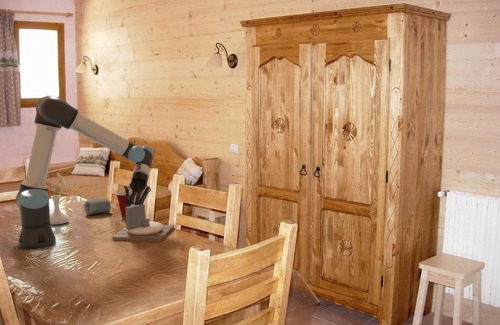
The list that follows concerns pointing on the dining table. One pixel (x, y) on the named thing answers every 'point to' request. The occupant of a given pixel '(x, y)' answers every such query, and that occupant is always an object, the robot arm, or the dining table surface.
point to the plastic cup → (122, 202)
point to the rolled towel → (97, 206)
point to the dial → (140, 221)
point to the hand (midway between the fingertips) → (130, 218)
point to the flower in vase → (57, 215)
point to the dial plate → (151, 237)
